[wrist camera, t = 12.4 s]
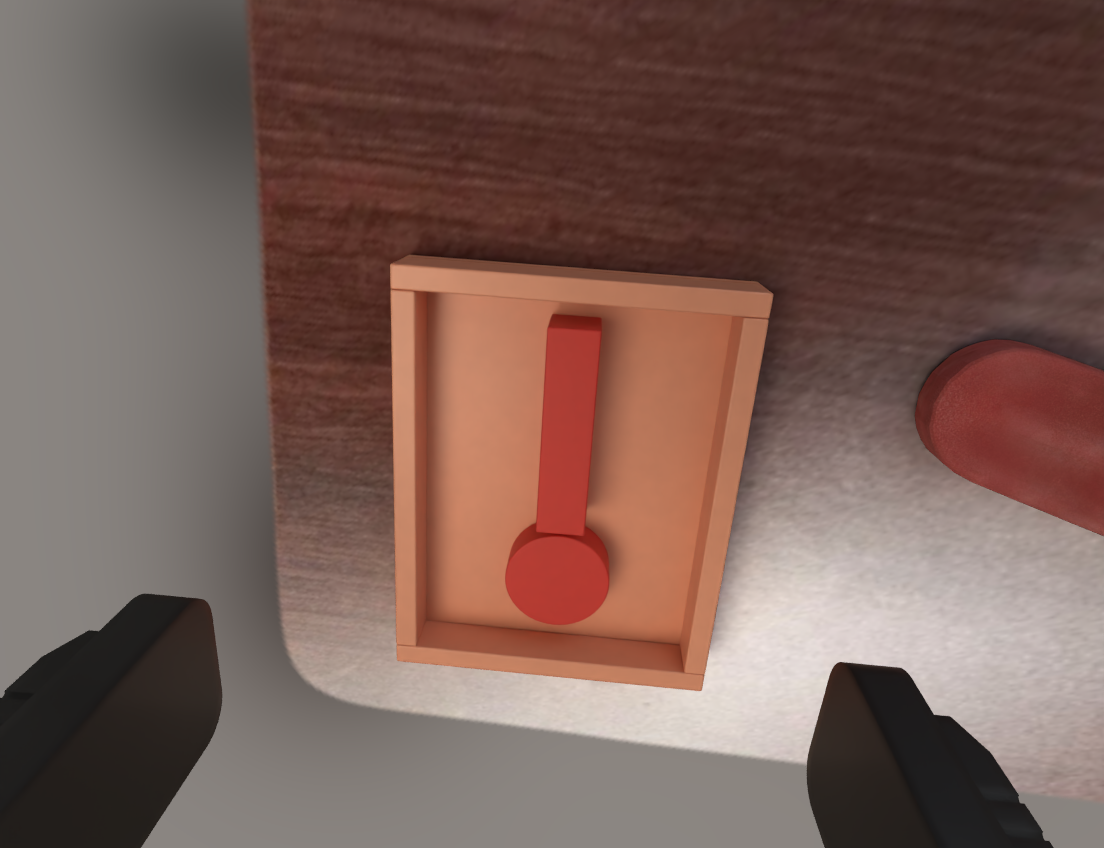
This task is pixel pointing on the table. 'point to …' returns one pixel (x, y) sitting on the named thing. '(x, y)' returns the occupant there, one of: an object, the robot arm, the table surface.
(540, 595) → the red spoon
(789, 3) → the table surface
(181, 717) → the robot arm
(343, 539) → the table surface
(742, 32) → the table surface
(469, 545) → the clay tray
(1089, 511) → the popsicle
